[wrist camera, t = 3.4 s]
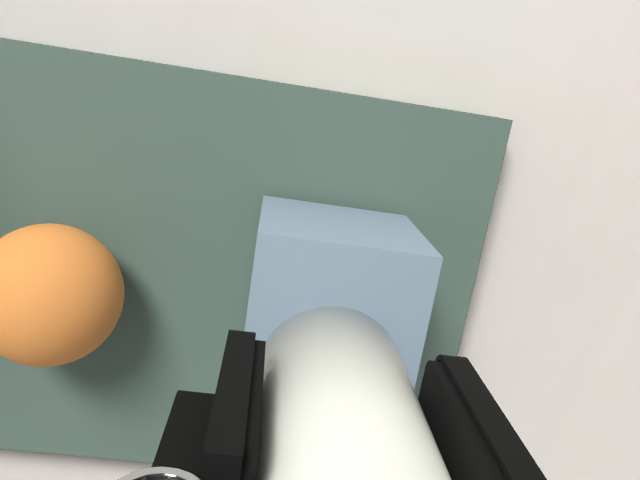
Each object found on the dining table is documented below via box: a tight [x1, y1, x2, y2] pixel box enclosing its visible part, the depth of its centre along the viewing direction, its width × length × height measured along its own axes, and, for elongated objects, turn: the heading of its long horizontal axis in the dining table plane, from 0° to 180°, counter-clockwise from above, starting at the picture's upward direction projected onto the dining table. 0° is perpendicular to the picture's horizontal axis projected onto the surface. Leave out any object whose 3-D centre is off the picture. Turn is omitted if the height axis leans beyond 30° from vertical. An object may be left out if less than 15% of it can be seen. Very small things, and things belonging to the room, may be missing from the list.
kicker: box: [244, 195, 451, 480], centre depth 12 cm, size 4×6×11 cm, turn 171°
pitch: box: [0, 38, 513, 463], centre depth 17 cm, size 20×12×1 cm, turn 81°
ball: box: [0, 223, 124, 367], centre depth 15 cm, size 4×4×4 cm
